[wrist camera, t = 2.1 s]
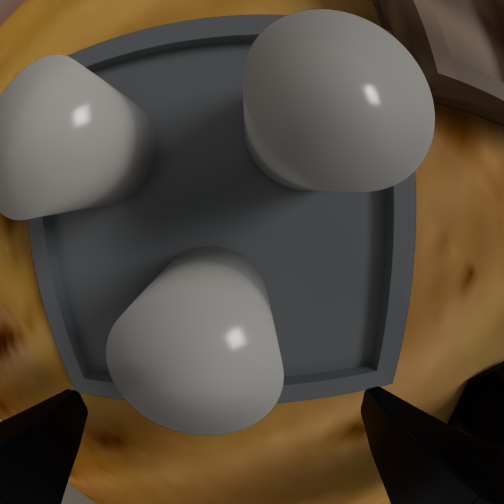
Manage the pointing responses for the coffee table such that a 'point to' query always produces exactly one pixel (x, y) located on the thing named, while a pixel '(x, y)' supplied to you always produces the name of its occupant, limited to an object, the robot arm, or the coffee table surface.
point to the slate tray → (227, 224)
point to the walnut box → (454, 49)
